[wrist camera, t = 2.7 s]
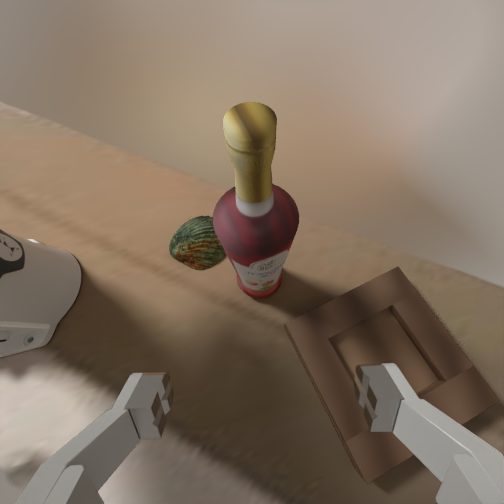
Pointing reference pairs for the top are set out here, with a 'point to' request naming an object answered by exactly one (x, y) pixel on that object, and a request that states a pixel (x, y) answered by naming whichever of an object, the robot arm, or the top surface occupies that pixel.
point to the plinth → (380, 352)
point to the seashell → (197, 244)
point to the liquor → (254, 203)
